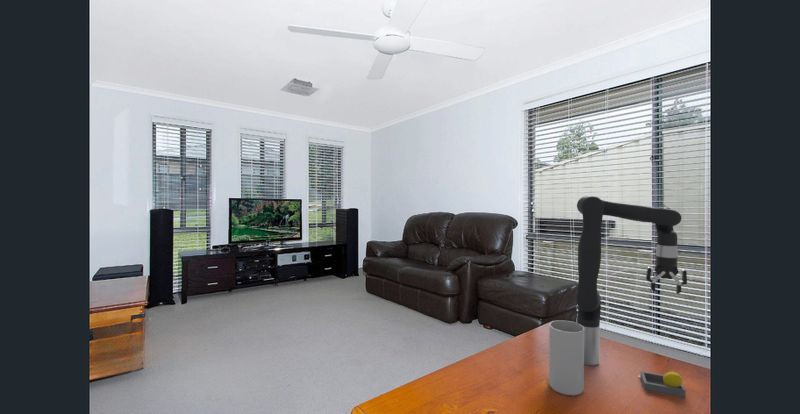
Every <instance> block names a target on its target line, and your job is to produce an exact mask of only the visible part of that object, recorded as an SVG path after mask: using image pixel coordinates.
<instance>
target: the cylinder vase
mask: <svg viewBox="0 0 800 414" xmlns="http://www.w3.org/2000/svg"><path fill="white" fill-rule="evenodd" d="M548 331H549V335H548V336H549V339H548V340H549V344H548V346H549V349H548V350H549V351H548V352H549V353H548V359H549V360H548V361H549V363H548V384H549V386H550V388H551V389H552V390H553V391H554V392H557V393H559V394H562V395H565V396H570V395H571V396H572V397H573V396H579V395H581V394H582V393H583V392H584V389H585V387H584V386H585V385H584V383H585V382H584V380H585V379H584V375H585V372H584V371H585V369H584V367H585V364H584V327H583V326H582V325H580V324H578V323H577V322H575V321H570V320H552V321H550V322H549V330H548Z"/></svg>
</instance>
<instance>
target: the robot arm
mask: <svg viewBox="0 0 800 414" xmlns="http://www.w3.org/2000/svg"><path fill="white" fill-rule="evenodd" d="M576 208H577V210H578V212H579V213H580V214H581V215H582V231H581V234H580V238H579V241H578V246H577V270H578V271H577V273H578V284H577V289H576V290H577V291H576V296H575V303H576V305H577V314H576V323H578V324H580V325H582V326H583V327H584V366H585V365H586V366H598V365H599V364H600V328H601V327H600V325H601V324H600V323H601V322H600V321H601V309H602V308H601V305H602V300H601V295H600V293H599V291H598V278H599V273H600V268H601V262H602V225H603V217H604V216H610V217H613V218H619V219H624V220H629V221H633V222H634V221H635V222H641V223H652V224H655V229H656V235H657V237H656V238H657V239H656V240H657V242H656V243H657V245H656V251H655V267H650V266H647V267H646V277H645V280H646V281H647V282H650V289H651V290H652V292H656V282H657V281H658V280H660V279H667V280H672V279H673V280H674V281H675V282H676V288H675V289H676V290H675V292H676V295H680V293H682V286H684V285H687V284H688V276H687V274H688V273H687V271H686V270H687V269H686V270H685V269H683V268H682V269H678V255H679V254H678V251H679V249H678V234H677V232H676V231H675V230H674V227H675V226H678V225H679V224H680V223H681V221H682V215H681V213H680V212H679V211H677V210H674V209H668V208H661V207H660V208H656V207H652V206H647V205H641V204H640V205H639V204H635V203H634V204H632V203H624V202H623V203H622V202H613V201H608V200H604V199H601V198H600V197H599V196H596V195H584V196H582V197H581V198H579V199H578V201H577V203H576ZM654 272H655V273H656V274H654V276H653V277H652V278H651V275H652V273H654ZM678 274H679V275H681V280H679V279H678V277H677V275H678Z"/></svg>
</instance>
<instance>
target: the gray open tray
mask: <svg viewBox="0 0 800 414" xmlns="http://www.w3.org/2000/svg"><path fill="white" fill-rule="evenodd" d="M664 375H665V374H661V373H660V374H659V373H653V372H647V371H640V375H639V376H640V377H639V378H640V381H641V385H642V388H643V391H645V392H651V393H657V394H662V395H667V396H671V397H677V398H682V399H686V388H685V387H684V385H683V383H682V384H681V386H680V387H679V388H676V387H671V386H666V385H665V384H664V382H663V377H664Z"/></svg>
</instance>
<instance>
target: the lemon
mask: <svg viewBox="0 0 800 414" xmlns="http://www.w3.org/2000/svg"><path fill="white" fill-rule="evenodd" d="M663 375H664V377H663V382H664V384H665V385H666V386H671V387H676V388H679V387H680V386H681V384H683V378H682V376H681V375H680V374H679V373H677V372H675V371H668V372H666V373H665V374H663Z"/></svg>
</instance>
